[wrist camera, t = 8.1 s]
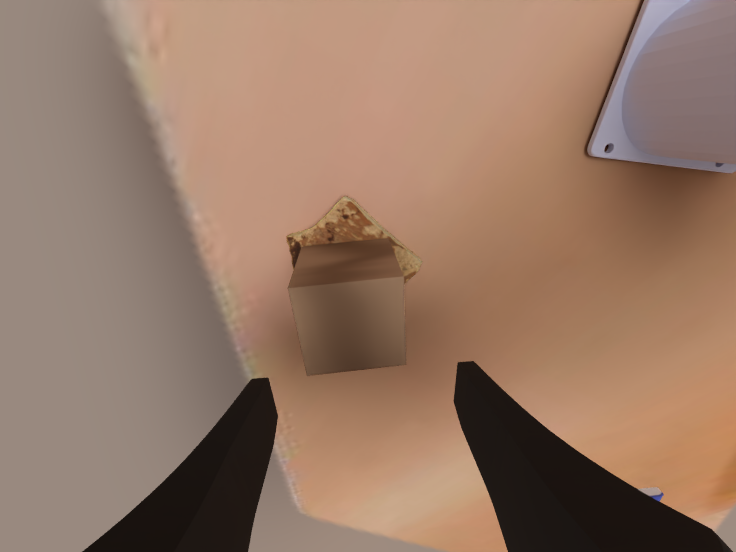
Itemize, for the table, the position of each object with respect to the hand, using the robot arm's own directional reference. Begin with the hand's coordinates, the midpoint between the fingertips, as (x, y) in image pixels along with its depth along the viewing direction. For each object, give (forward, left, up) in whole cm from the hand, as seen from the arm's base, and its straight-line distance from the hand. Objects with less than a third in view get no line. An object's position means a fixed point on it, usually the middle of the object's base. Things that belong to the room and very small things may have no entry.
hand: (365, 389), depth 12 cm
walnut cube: (+1, 0, -8) cm, 8 cm away
